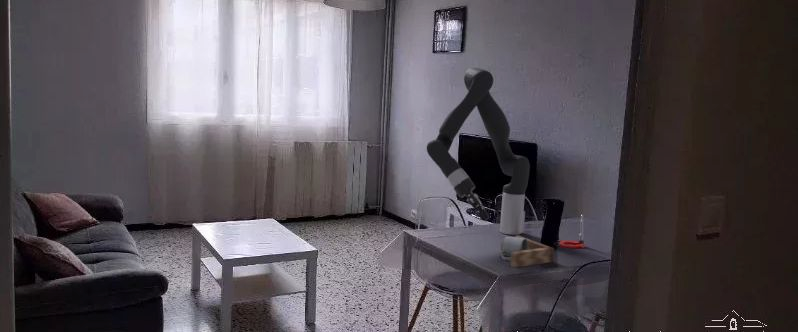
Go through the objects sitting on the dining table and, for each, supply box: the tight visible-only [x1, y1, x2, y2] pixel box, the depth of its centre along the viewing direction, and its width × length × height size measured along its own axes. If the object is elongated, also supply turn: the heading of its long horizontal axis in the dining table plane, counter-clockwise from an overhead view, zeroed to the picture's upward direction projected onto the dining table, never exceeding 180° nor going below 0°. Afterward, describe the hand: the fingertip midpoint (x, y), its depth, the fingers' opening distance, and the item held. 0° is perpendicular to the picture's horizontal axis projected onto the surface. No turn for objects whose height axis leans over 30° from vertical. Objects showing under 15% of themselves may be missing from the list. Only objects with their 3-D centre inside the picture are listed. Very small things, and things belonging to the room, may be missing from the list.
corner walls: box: [510, 235, 555, 268], centre depth 221 cm, size 18×19×5 cm
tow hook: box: [559, 214, 586, 249], centre depth 242 cm, size 8×13×9 cm
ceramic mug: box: [500, 236, 528, 262], centre depth 219 cm, size 11×8×8 cm
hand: (487, 219), depth 229 cm, fingers closed
